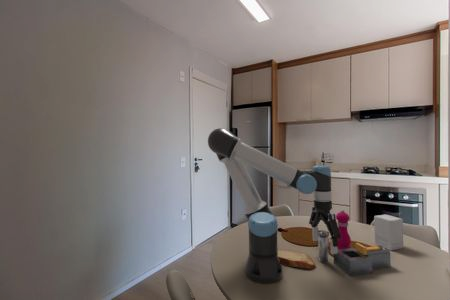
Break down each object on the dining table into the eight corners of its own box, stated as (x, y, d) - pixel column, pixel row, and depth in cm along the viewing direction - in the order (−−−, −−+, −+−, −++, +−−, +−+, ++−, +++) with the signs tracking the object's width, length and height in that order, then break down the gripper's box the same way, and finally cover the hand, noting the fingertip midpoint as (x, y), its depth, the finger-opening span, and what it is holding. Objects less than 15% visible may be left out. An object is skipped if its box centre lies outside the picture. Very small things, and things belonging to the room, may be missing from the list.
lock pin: (364, 255, 93) (364, 247, 93) (355, 249, 98) (355, 243, 98) (383, 253, 94) (383, 245, 94) (373, 247, 99) (373, 241, 99)
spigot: (321, 264, 98) (321, 234, 98) (315, 258, 103) (314, 230, 103) (332, 263, 99) (331, 233, 99) (325, 257, 104) (324, 229, 104)
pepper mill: (334, 250, 111) (334, 210, 111) (335, 244, 118) (334, 206, 118) (351, 253, 108) (350, 212, 108) (351, 247, 114) (350, 208, 114)
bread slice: (263, 256, 107) (262, 248, 107) (294, 250, 113) (294, 243, 113) (283, 276, 90) (283, 267, 90) (320, 268, 96) (320, 259, 96)
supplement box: (404, 248, 112) (403, 218, 112) (391, 251, 110) (390, 220, 110) (386, 241, 121) (386, 213, 121) (374, 243, 118) (373, 215, 118)
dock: (350, 276, 89) (349, 258, 89) (333, 263, 99) (333, 247, 99) (395, 270, 93) (395, 253, 93) (375, 258, 102) (375, 243, 102)
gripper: (349, 205, 89) (351, 258, 89) (314, 194, 114) (316, 235, 114) (333, 207, 88) (335, 260, 88) (301, 195, 113) (302, 237, 113)
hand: (324, 246), depth 101 cm, fingers open, 13 cm apart
